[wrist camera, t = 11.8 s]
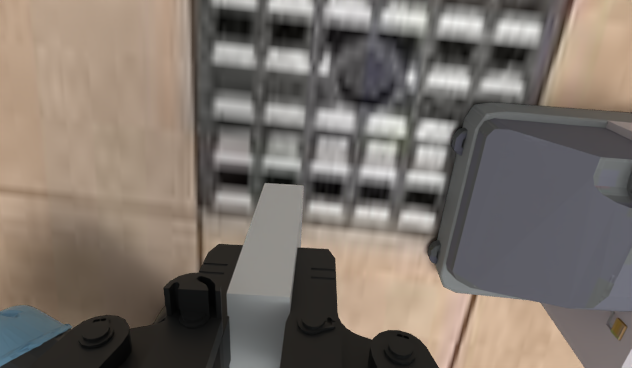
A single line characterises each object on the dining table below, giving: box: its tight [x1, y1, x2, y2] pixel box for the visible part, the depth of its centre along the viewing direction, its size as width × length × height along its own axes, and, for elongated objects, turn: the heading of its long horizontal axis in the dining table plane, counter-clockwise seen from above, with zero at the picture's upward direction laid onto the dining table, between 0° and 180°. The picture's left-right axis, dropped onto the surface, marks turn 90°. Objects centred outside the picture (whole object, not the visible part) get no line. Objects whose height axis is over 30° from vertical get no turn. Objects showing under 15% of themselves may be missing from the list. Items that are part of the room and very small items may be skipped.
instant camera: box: [428, 102, 632, 368], centre depth 34 cm, size 21×21×15 cm
